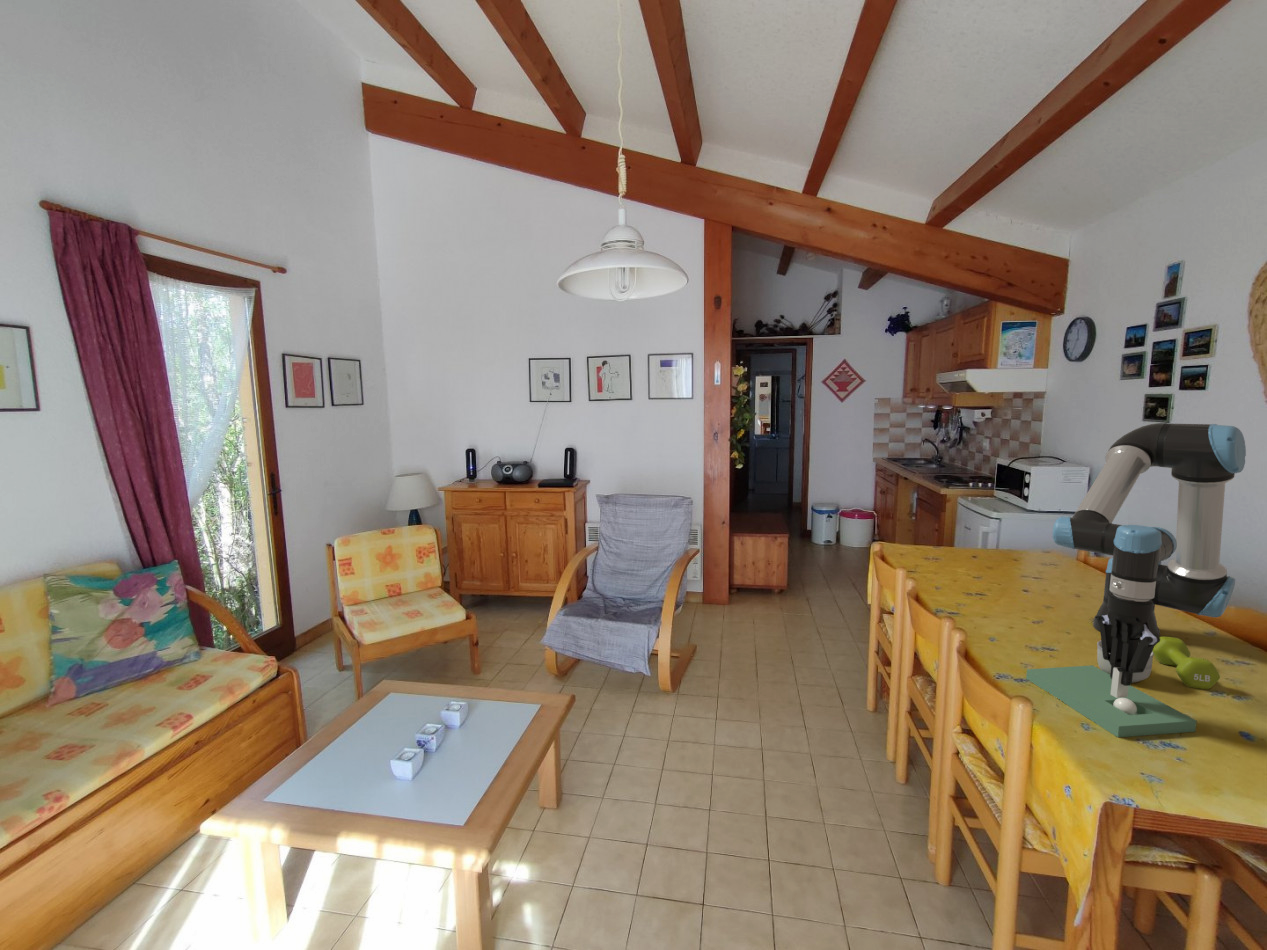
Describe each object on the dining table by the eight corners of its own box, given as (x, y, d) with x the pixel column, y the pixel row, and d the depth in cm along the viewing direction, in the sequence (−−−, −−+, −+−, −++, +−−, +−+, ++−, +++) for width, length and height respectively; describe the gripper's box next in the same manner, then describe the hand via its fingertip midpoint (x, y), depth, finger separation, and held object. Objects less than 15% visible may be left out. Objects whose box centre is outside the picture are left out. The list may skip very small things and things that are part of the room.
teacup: (1154, 691, 138) (1158, 660, 137) (1097, 680, 144) (1100, 650, 143) (1142, 667, 150) (1145, 638, 149) (1089, 658, 156) (1092, 630, 154)
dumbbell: (1146, 658, 155) (1149, 633, 154) (1183, 663, 153) (1187, 637, 152) (1178, 687, 140) (1182, 660, 139) (1221, 693, 137) (1225, 665, 136)
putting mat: (1091, 674, 147) (1092, 665, 146) (1195, 731, 122) (1196, 720, 122) (1026, 678, 145) (1026, 669, 145) (1117, 737, 120) (1118, 726, 120)
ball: (1120, 703, 131) (1130, 693, 128) (1134, 719, 127) (1145, 709, 125) (1105, 704, 130) (1114, 694, 128) (1119, 721, 127) (1129, 711, 124)
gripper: (1089, 586, 132) (1078, 682, 136) (1144, 607, 119) (1130, 712, 123) (1118, 585, 133) (1107, 680, 136) (1176, 605, 120) (1162, 710, 124)
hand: (1118, 695), depth 130 cm, fingers closed
